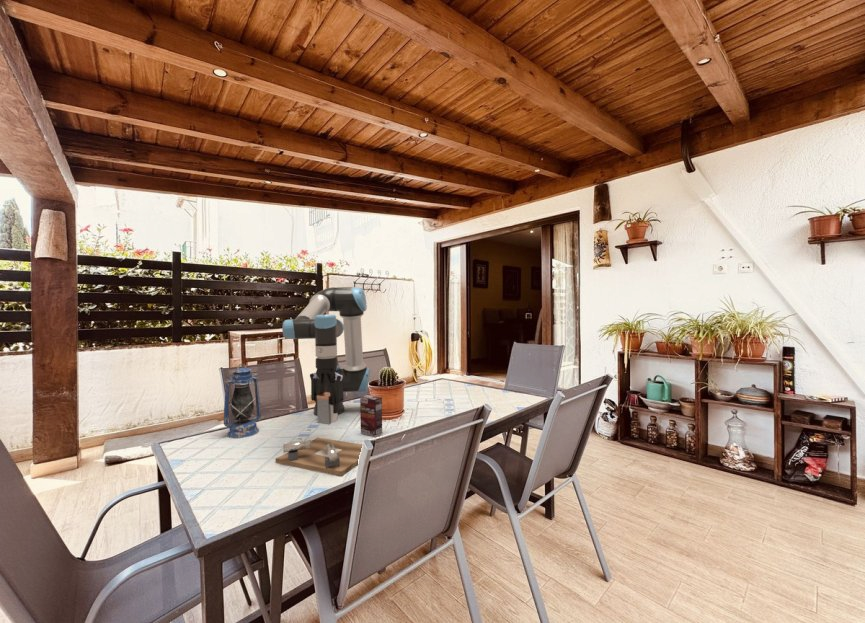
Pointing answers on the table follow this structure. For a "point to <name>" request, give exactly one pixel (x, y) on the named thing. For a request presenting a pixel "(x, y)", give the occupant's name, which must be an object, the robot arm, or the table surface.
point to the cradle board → (317, 454)
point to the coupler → (324, 408)
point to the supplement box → (371, 415)
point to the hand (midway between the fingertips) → (327, 420)
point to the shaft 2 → (331, 457)
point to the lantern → (242, 404)
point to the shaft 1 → (296, 448)
